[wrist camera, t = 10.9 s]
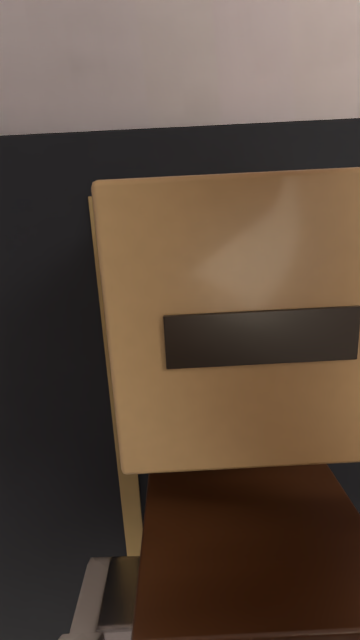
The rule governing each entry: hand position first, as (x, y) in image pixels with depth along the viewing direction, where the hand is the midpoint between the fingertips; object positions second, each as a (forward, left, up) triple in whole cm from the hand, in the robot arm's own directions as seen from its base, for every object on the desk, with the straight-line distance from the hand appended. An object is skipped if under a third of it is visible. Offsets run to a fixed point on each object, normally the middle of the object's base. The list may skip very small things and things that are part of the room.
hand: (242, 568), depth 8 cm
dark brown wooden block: (0, 0, -2) cm, 2 cm away
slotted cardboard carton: (0, +7, -3) cm, 7 cm away
